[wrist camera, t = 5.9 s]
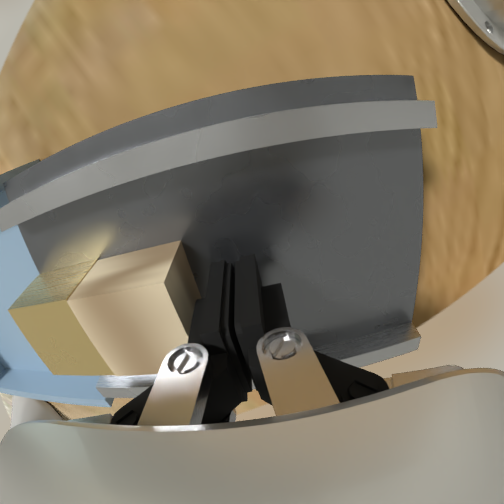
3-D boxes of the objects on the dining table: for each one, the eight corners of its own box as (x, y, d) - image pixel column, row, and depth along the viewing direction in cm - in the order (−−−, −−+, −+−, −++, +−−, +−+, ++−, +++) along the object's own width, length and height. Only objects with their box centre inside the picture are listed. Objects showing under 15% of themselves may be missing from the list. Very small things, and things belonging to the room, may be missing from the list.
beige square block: (180, 240, 11) (163, 282, 8) (209, 319, 13) (203, 369, 10) (97, 260, 11) (66, 301, 9) (133, 330, 13) (115, 376, 10)
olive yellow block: (97, 259, 11) (65, 299, 9) (132, 329, 13) (115, 375, 10) (38, 274, 12) (7, 310, 9) (74, 335, 13) (53, 374, 11)
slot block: (372, 81, 12) (430, 74, 7) (382, 306, 18) (414, 360, 14) (46, 164, 13) (-13, 191, 8) (131, 350, 19) (112, 406, 15)
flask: (72, 421, 26) (50, 486, 17) (44, 420, 27) (23, 476, 18) (30, 383, 23) (-2, 451, 14) (6, 387, 24) (-21, 444, 15)
